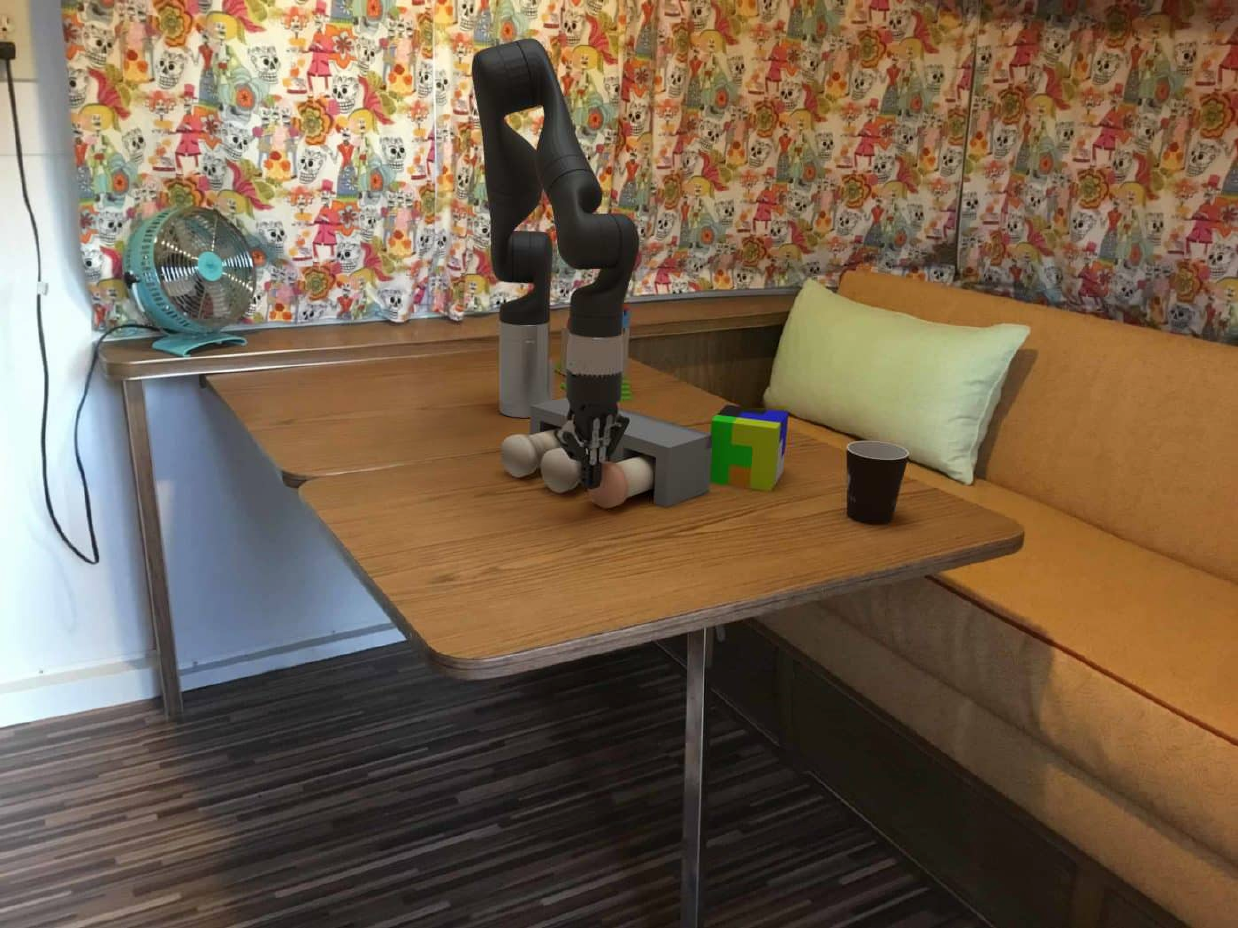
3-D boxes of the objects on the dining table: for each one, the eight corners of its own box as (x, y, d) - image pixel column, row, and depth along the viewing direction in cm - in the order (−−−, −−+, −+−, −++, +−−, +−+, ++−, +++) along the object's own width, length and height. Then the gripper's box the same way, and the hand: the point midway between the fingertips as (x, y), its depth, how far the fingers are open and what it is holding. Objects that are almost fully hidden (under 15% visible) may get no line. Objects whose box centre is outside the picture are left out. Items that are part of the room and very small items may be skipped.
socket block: (573, 446, 173) (575, 395, 170) (708, 491, 154) (712, 434, 151) (529, 459, 166) (530, 405, 163) (665, 507, 147) (669, 447, 144)
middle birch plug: (588, 471, 160) (589, 432, 158) (618, 482, 156) (619, 442, 154) (540, 486, 153) (541, 445, 151) (570, 497, 149) (571, 455, 146)
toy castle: (540, 371, 223) (541, 283, 217) (600, 368, 228) (603, 281, 222) (583, 404, 199) (586, 306, 193) (650, 400, 204) (654, 304, 198)
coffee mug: (889, 532, 141) (898, 463, 138) (830, 518, 145) (837, 451, 142) (914, 508, 151) (923, 443, 147) (857, 495, 155) (865, 432, 152)
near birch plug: (548, 458, 165) (549, 420, 163) (576, 467, 161) (577, 428, 159) (501, 471, 158) (501, 431, 156) (528, 481, 154) (529, 441, 152)
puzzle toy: (782, 472, 164) (788, 412, 161) (771, 491, 155) (776, 428, 152) (722, 463, 167) (726, 404, 164) (707, 482, 158) (711, 420, 155)
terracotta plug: (633, 485, 154) (635, 445, 152) (665, 497, 150) (667, 455, 148) (586, 501, 147) (587, 459, 145) (618, 513, 143) (620, 470, 141)
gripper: (608, 354, 144) (604, 470, 150) (539, 367, 135) (537, 491, 140) (648, 364, 139) (642, 483, 145) (579, 378, 130) (575, 505, 136)
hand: (590, 487), depth 143 cm, fingers closed
